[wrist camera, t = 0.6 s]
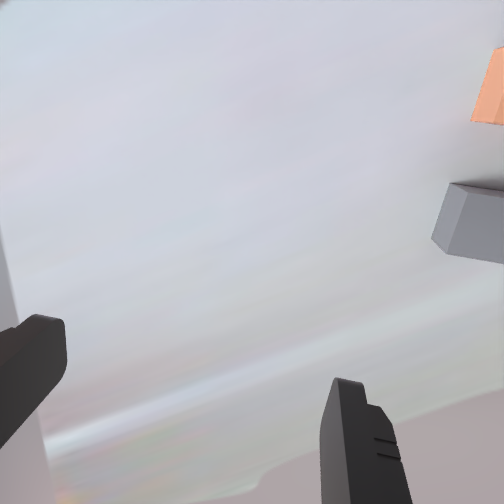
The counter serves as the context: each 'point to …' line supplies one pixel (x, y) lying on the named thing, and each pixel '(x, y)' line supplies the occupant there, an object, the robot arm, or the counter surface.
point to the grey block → (471, 223)
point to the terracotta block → (492, 92)
